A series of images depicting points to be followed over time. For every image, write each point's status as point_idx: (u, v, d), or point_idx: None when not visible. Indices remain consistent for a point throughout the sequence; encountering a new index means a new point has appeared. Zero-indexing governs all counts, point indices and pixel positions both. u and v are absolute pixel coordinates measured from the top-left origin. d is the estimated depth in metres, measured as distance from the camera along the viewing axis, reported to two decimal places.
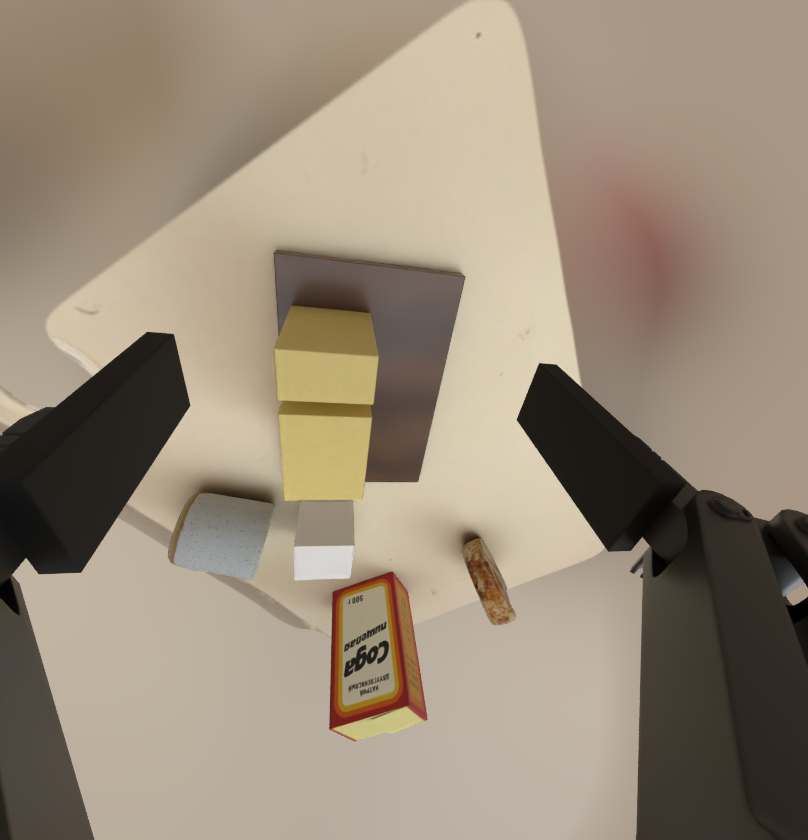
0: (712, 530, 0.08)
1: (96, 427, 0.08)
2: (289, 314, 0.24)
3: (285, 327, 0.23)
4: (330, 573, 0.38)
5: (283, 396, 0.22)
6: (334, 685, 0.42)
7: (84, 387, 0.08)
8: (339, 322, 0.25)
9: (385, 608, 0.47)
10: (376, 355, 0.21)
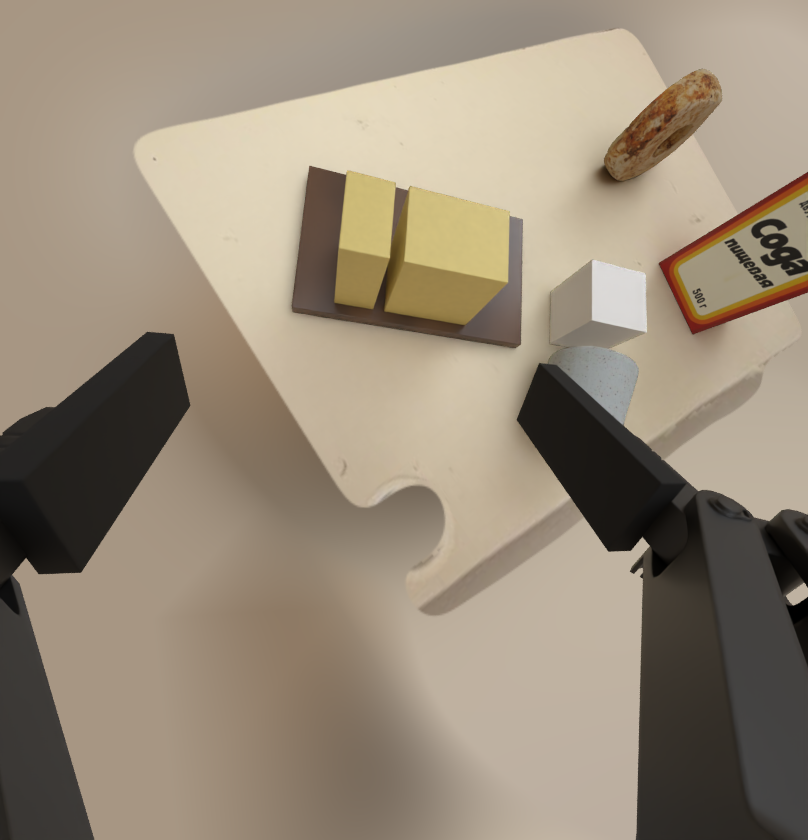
0: (712, 530, 0.08)
1: (96, 427, 0.08)
2: (335, 289, 0.29)
3: None
4: (636, 292, 0.33)
5: (385, 252, 0.24)
6: None
7: (84, 387, 0.08)
8: None
9: (706, 251, 0.37)
10: None
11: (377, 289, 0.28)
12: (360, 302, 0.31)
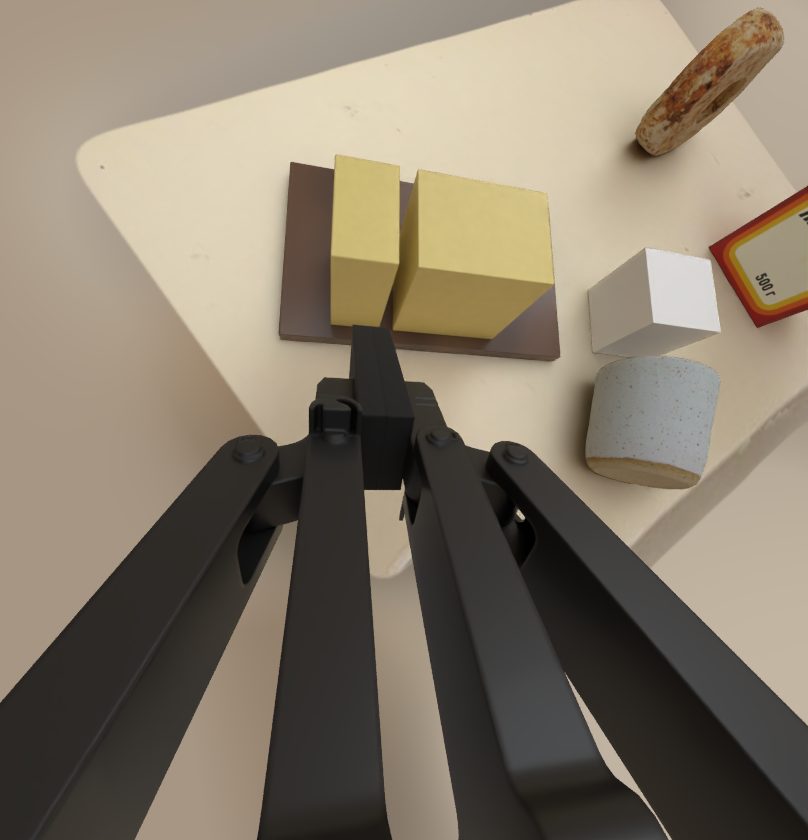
0: (434, 467, 0.08)
1: None
2: None
3: None
4: (703, 283, 0.26)
5: (393, 256, 0.18)
6: None
7: (354, 363, 0.11)
8: None
9: (773, 227, 0.31)
10: (335, 157, 0.19)
11: (383, 305, 0.22)
12: (363, 321, 0.25)
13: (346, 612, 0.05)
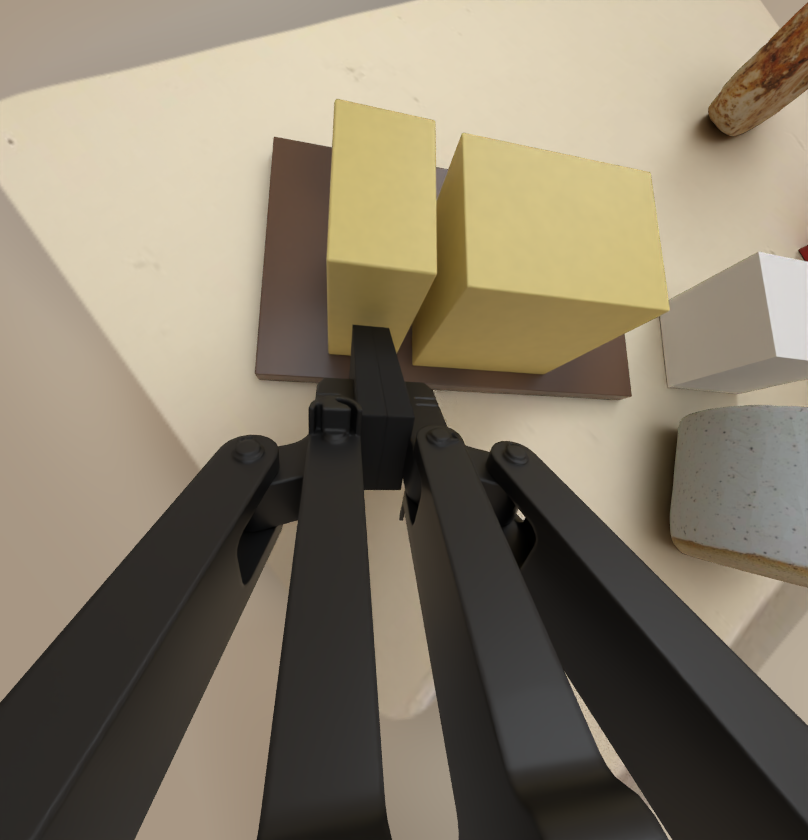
0: (434, 467, 0.08)
1: None
2: (328, 334, 0.16)
3: (327, 307, 0.14)
4: None
5: (427, 262, 0.11)
6: None
7: (354, 363, 0.11)
8: None
9: None
10: (335, 104, 0.12)
11: (404, 331, 0.15)
12: None
13: (346, 613, 0.05)
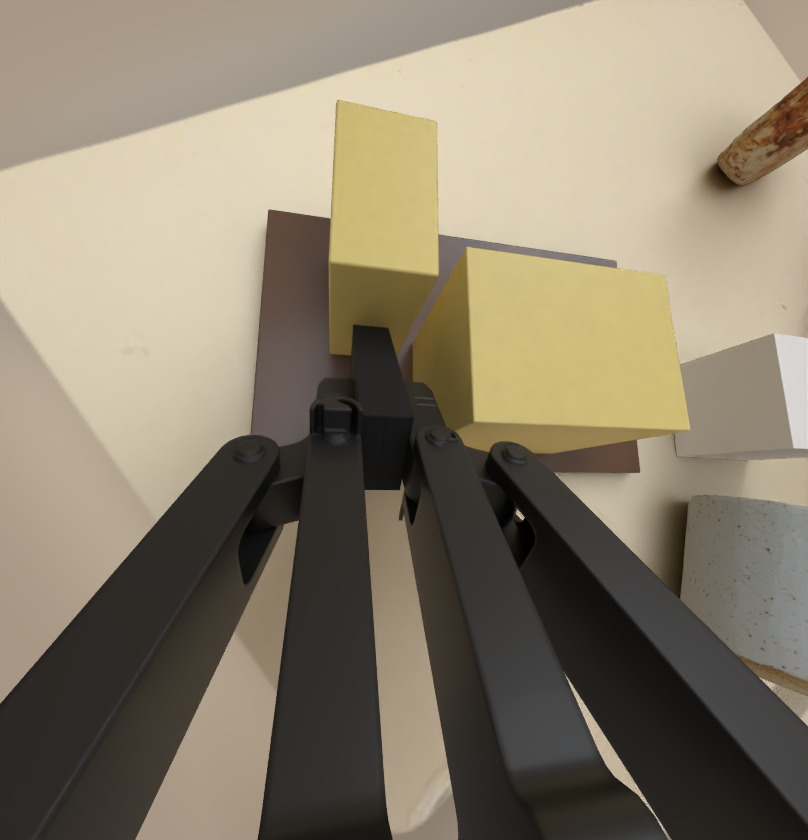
0: (433, 467, 0.08)
1: None
2: (329, 334, 0.16)
3: (329, 308, 0.14)
4: None
5: (429, 263, 0.11)
6: None
7: (355, 362, 0.11)
8: None
9: None
10: (336, 105, 0.12)
11: (406, 331, 0.15)
12: None
13: (346, 612, 0.05)
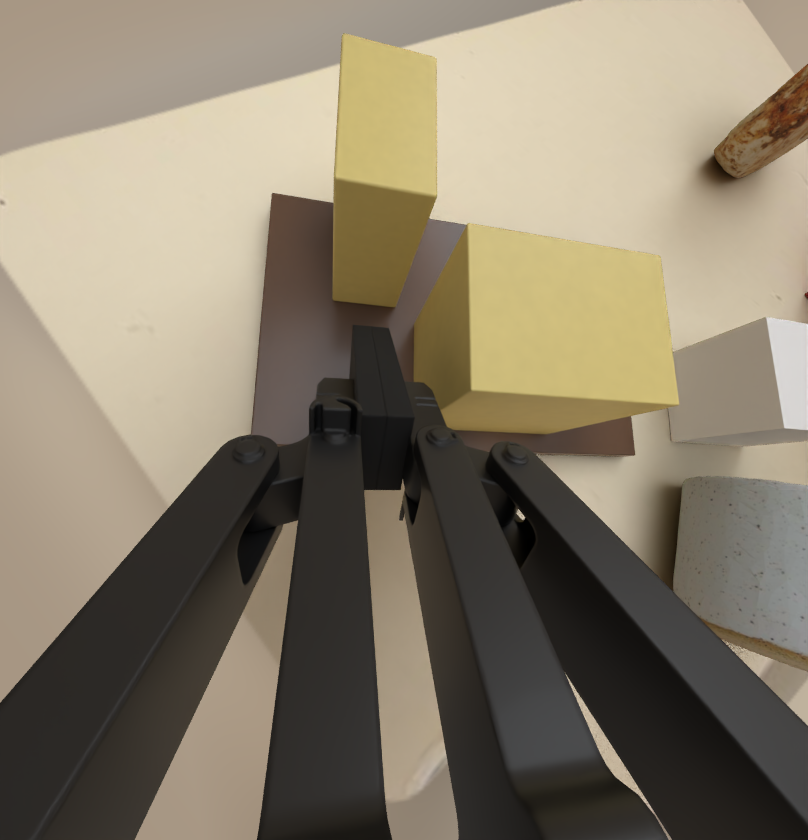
0: (434, 467, 0.08)
1: None
2: None
3: (333, 240, 0.15)
4: None
5: (428, 184, 0.12)
6: None
7: (354, 363, 0.11)
8: None
9: None
10: (342, 38, 0.12)
11: (406, 269, 0.16)
12: (375, 296, 0.18)
13: (346, 613, 0.05)
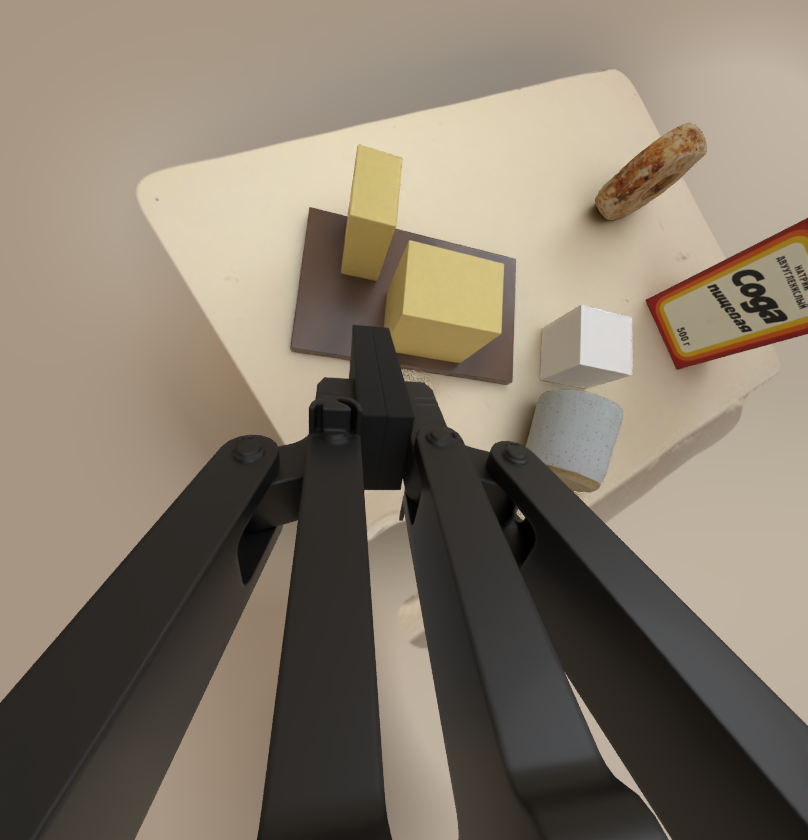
0: (434, 467, 0.08)
1: None
2: None
3: (345, 240, 0.29)
4: (623, 336, 0.34)
5: (392, 220, 0.26)
6: (800, 329, 0.32)
7: (354, 363, 0.11)
8: (347, 219, 0.31)
9: (690, 293, 0.39)
10: None
11: (382, 259, 0.30)
12: (365, 273, 0.33)
13: (346, 613, 0.05)
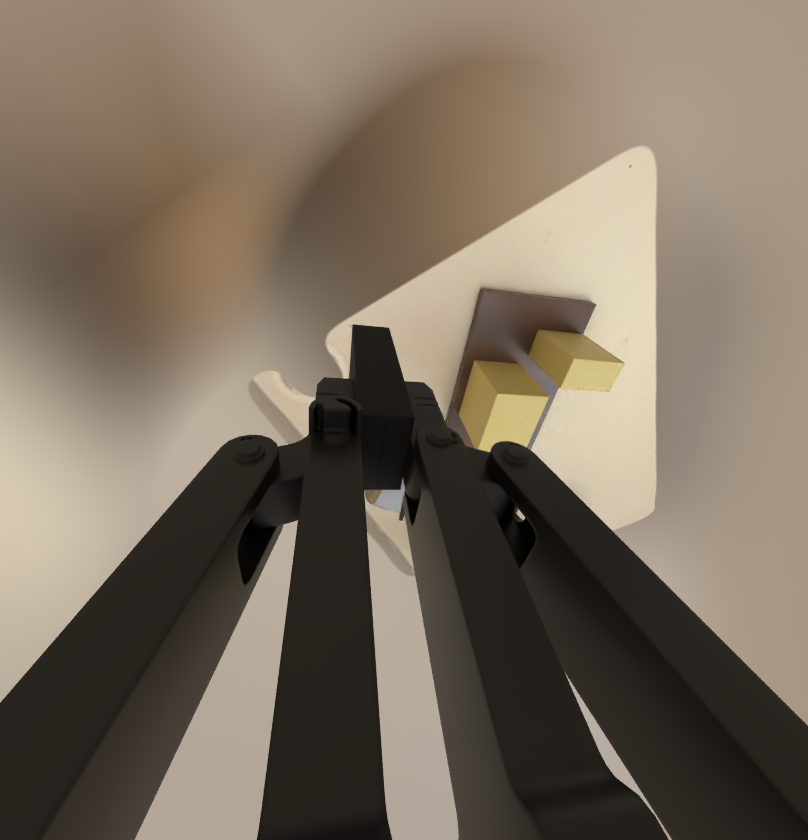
0: (434, 467, 0.08)
1: None
2: (548, 336, 0.40)
3: (559, 345, 0.38)
4: None
5: (564, 386, 0.37)
6: None
7: (354, 362, 0.11)
8: (577, 340, 0.40)
9: None
10: (623, 362, 0.36)
11: (541, 368, 0.40)
12: (534, 350, 0.42)
13: (346, 613, 0.05)
